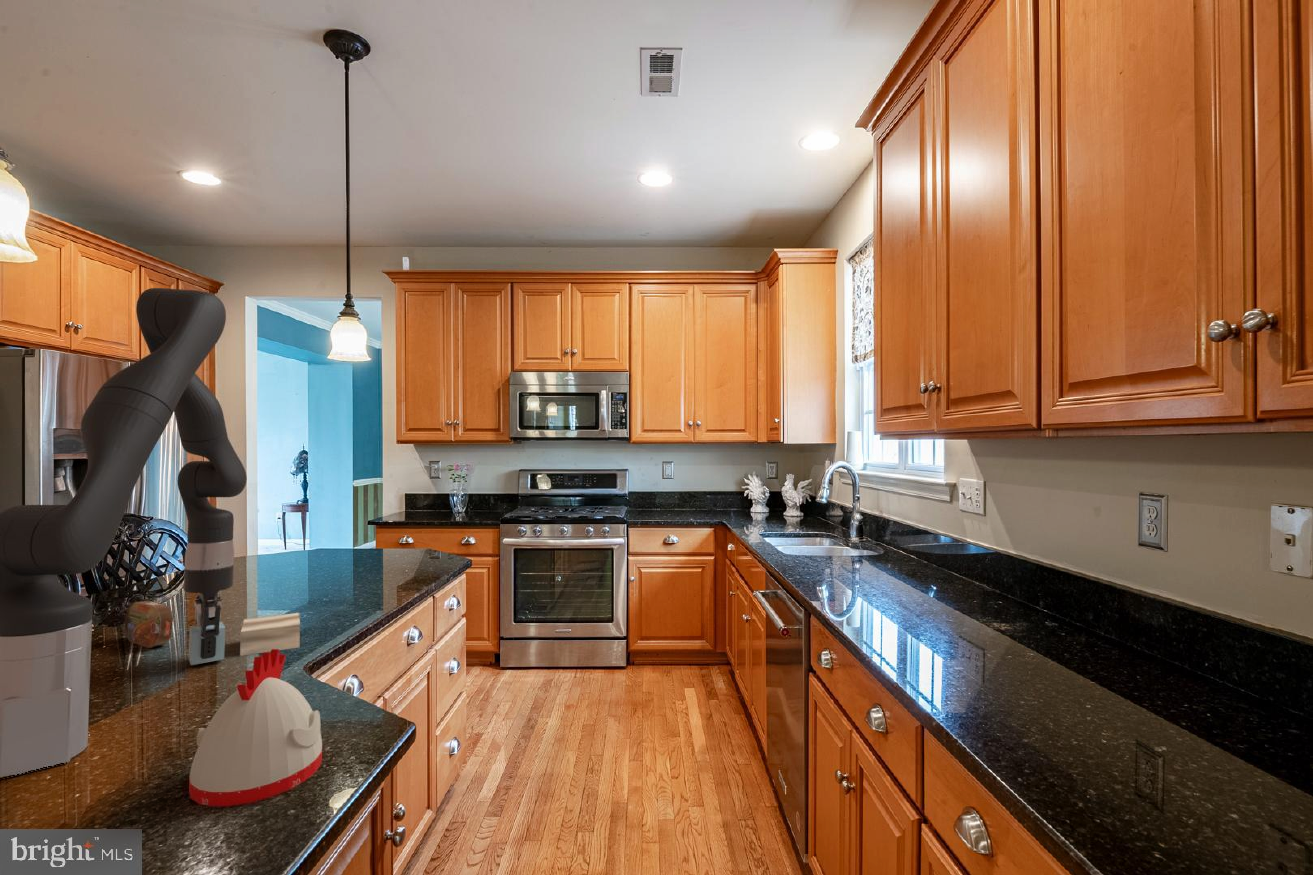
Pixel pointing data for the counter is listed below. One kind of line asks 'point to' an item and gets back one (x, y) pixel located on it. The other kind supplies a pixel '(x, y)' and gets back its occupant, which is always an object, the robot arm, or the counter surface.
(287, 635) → the birch block
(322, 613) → the counter surface
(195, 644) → the blue-gray block
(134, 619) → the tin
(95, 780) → the counter surface
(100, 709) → the counter surface
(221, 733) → the kitchen timer
